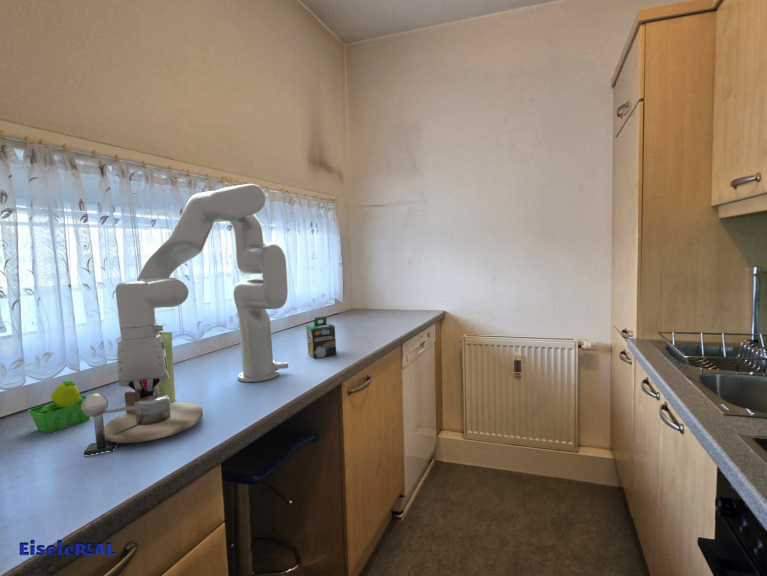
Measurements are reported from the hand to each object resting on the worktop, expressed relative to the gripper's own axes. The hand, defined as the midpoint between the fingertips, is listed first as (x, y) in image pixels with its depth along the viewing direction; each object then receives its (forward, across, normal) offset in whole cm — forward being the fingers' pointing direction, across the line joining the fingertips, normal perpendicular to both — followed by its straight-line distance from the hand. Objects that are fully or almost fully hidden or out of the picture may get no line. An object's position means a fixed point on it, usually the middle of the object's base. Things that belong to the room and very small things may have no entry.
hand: (147, 406), depth 103 cm
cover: (+1, -3, +8) cm, 9 cm away
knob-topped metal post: (+3, +3, +15) cm, 15 cm away
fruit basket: (+4, +19, -6) cm, 20 cm away
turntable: (+2, -3, +8) cm, 8 cm away
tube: (+4, -2, -12) cm, 13 cm away
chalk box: (+5, -52, -43) cm, 68 cm away
